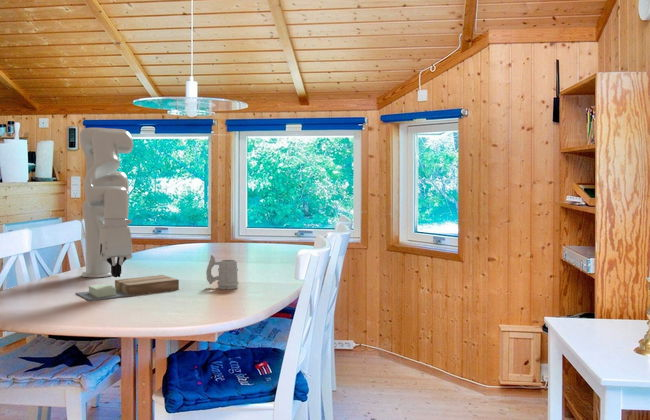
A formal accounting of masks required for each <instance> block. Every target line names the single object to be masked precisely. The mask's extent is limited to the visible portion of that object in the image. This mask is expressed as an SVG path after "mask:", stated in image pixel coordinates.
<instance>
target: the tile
mask: <svg viewBox="0 0 650 420" xmlns="http://www.w3.org/2000/svg"><path fill="white" fill-rule="evenodd" d="M88 291H89V293H90V294H92V295H94V296H96V297H104V296H112V295H116V287H115V286H114V285H111V284H110V283H109V284H108V283H102V284H100V283H99V284H93V285H92V284H90V285H88Z"/></svg>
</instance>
